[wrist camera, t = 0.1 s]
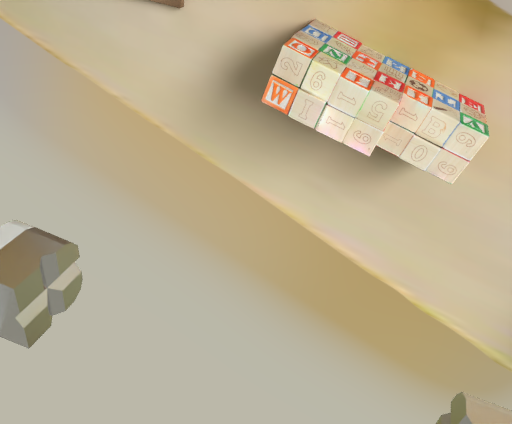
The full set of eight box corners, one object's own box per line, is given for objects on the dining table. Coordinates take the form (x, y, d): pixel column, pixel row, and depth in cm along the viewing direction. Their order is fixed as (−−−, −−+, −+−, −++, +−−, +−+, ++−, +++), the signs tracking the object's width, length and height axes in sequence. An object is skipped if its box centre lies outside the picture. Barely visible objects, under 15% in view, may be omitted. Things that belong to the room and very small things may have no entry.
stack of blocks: (486, 104, 50) (493, 151, 41) (452, 149, 54) (451, 201, 45) (313, 17, 52) (281, 43, 42) (292, 67, 56) (258, 102, 46)
